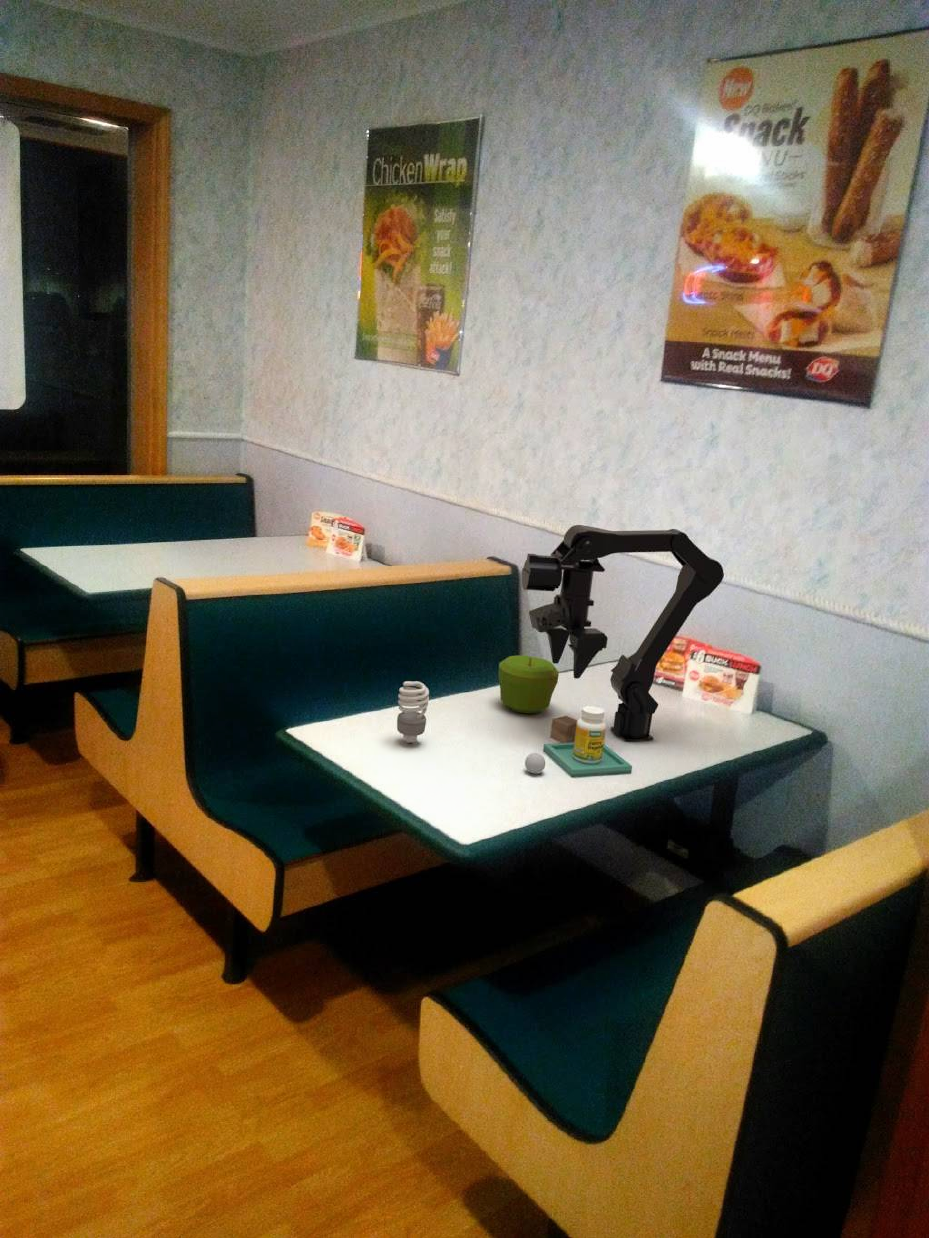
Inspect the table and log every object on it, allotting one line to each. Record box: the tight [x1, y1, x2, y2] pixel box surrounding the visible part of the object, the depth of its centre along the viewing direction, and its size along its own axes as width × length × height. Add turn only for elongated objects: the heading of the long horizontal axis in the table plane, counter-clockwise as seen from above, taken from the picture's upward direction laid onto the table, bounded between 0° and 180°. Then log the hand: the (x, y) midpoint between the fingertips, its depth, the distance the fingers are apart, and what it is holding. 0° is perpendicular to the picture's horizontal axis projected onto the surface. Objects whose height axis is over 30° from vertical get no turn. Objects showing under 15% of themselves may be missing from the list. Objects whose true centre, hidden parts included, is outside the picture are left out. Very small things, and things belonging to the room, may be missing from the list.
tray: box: [542, 742, 633, 778], centre depth 178 cm, size 12×12×1 cm
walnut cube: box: [549, 714, 579, 743], centre depth 188 cm, size 4×4×4 cm
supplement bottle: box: [573, 705, 607, 764], centre depth 177 cm, size 5×5×10 cm
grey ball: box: [524, 752, 546, 774], centre depth 171 cm, size 4×4×4 cm
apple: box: [497, 655, 560, 714], centre depth 202 cm, size 12×12×11 cm
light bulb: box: [396, 680, 430, 744], centre depth 178 cm, size 6×6×12 cm
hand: (565, 670), depth 188 cm, fingers open, 9 cm apart
